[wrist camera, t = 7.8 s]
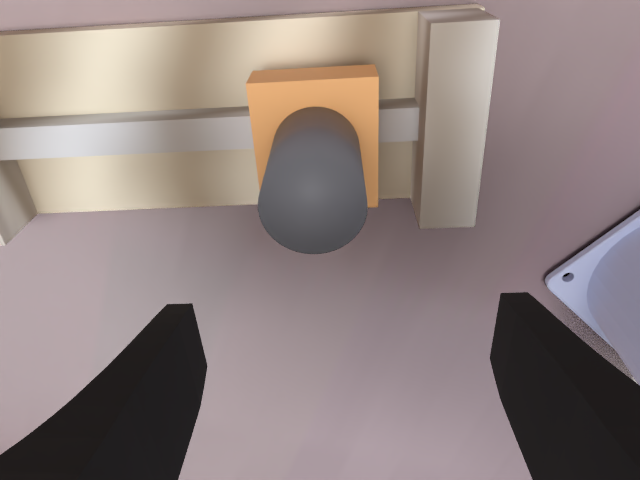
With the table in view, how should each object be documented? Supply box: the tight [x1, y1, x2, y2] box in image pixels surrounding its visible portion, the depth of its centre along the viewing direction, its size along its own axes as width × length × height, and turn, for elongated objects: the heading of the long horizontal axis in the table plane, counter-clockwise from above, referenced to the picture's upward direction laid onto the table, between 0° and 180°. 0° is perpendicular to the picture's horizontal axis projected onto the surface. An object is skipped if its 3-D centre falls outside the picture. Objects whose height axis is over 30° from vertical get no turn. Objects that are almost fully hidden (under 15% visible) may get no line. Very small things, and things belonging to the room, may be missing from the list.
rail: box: [0, 4, 500, 246], centre depth 18 cm, size 20×7×4 cm, turn 93°
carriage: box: [246, 64, 379, 254], centre depth 16 cm, size 4×4×7 cm
